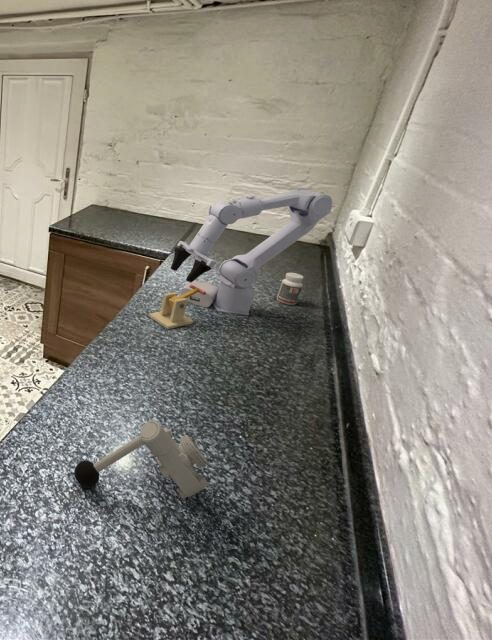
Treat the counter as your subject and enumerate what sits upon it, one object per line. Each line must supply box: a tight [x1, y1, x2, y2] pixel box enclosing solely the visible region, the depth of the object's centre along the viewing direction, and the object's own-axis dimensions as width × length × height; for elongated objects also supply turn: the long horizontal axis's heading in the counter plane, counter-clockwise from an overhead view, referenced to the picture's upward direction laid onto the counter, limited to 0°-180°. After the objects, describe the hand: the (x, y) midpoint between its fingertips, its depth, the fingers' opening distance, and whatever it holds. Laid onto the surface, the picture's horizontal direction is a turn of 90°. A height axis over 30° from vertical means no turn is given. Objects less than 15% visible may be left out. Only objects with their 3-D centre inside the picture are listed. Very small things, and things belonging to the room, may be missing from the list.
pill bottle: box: [276, 272, 305, 306], centre depth 135 cm, size 6×6×10 cm
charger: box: [179, 280, 219, 308], centre depth 137 cm, size 5×9×15 cm
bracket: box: [148, 291, 194, 330], centre depth 121 cm, size 10×8×8 cm
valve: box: [74, 419, 209, 499], centre depth 69 cm, size 10×20×15 cm
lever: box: [168, 285, 206, 308], centre depth 121 cm, size 11×6×2 cm, turn 111°
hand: (180, 275), depth 126 cm, fingers open, 7 cm apart
